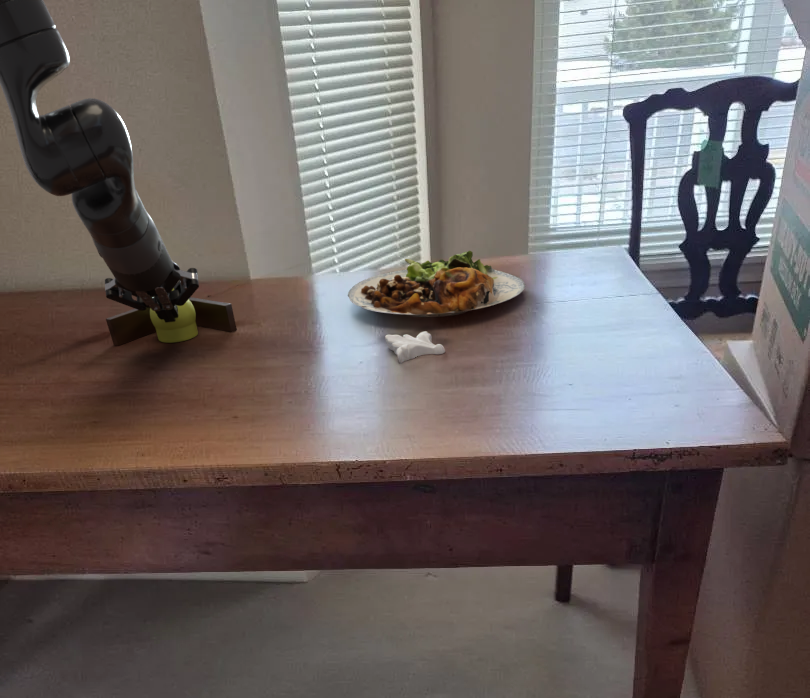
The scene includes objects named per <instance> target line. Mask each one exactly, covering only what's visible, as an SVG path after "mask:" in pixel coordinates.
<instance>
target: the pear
mask: <svg viewBox="0 0 810 698" xmlns="http://www.w3.org/2000/svg"><path fill="white" fill-rule="evenodd" d="M173 290H174V288H173ZM173 290H172V291H173ZM177 307H178V318H176V321H175V322H166V323H165V321H164V319H163V320H161V319H159V318H158V316H157V314H156V313H155V311H153V310H152V309H151V308H150V318H151V321H152V323H153V325H154V326H155V329H156V332H155V333H156V336H157V339H158V341H159V342H161V343H166V344H167V343H170V344H172V343H179V342H184V341H188V340H191V339H194V338H196V337H197V336H198V335H199V331H198V330H199V329H198V326H197V325H196V321H195V320H196V313H195V309H194V307H193V305H192V303H191V302H190V300H189V299H188V300H187V302H186V303H185V304H184V305H183V306H177Z"/></svg>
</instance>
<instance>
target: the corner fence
mask: <svg viewBox="0 0 810 698" xmlns="http://www.w3.org/2000/svg"><path fill="white" fill-rule="evenodd" d="M189 300H190V302H191V303H192V305H193V307H194V309H195V313H196V320H195V321H196V326H197V327H203V328H208V329H214V330H219V331H223V332H228V333H232V332H234V331H237V324H236V319H235V314H234V309H233V305H232V303H229V302H223V301H216V300H210V299H204V298H199V297H198V298H197V297H192V296H191V297H190V298H189ZM105 321H106V325H107V328H108V331H109V332H108V333H109V335H110V338H111V341H112V344H113V346H122V345H124V344H126V343H129V342H132V341H135V340H138V339H140V338H143V337H145V336H149V335H152V334H153V333H157V332H156V329H155V326H154V325H153V323H152V321H151V318H150V308H146V310H144V311H140V310H137V309H135V308H132V309H129V310H126V311H123V312H121V313H118V314H116V315H112V316H109V317H107V318H105Z"/></svg>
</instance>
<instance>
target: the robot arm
mask: <svg viewBox="0 0 810 698" xmlns="http://www.w3.org/2000/svg"><path fill="white" fill-rule="evenodd" d="M70 63H71V62H70V54H69V50H68V49H67V46H66V44H65V42H64V40H63V38H62V36H61V33H60V31H59V29H58V28H57V25H56V23H55V21H54V19H53V17H52V14H51V13H50V11H49V9H48V7H47V4H46V3H45V1H44V0H0V88H1V91H2V93H3V95H4V98H5V101H6V104H7V107H8V110H9V114H10V117H11V120H12V123H13V127H14V131H15V135H16V139H17V143H18V146H19V150H20V153H21V156H22V159H23V162H24V165H25V168H26V170H27V171H28V173H29V175H30V177H31V178H32V180H33V181H34V182H35V184H37V185H38V186H39V187H40V188H41V189H42V190H44V191H45V192H47V193H48V194H50V195H52V196H54V197H55V196H56V197H65V196H70V195H71V202H72V206H73V208H74V210H75V213H76V214H77V216H78V217H79V219H80V221H81V222H82V224H83V225H84V227H85V228H86V230H87V232H88V233H89V235H90V238H91V239H92V242H93V244H94V247H95V248H96V250H97V253H98V254H99V256H100V258H101V259H103V261H104V263H105V264H106V266H107V268H108V269H109V271H110V272H111V274H112V275H113V278H111V277H107V278H105V279H104V291H105V297H106V299H108V300H110V301H113V302H116V303H119V304H122V305H124V306H126V307H128V308H129V307H130V308H131V309H137V310H140V311H144V310H146V308H151V309H152V310H153V311H155V313H156V314H157V316H158V318H159V319H161V320H163V319H164V321H165V323H166V322H175V321H176V318H178V307H177V306H183V305H184V304H185V303H186V302H187V300H188V299H189V298H190V297H192V296H193V295H194V294H195V292H196V291H197V290H198V289H199V287H200V283H199V273H198V269H197V268H196V267H189V268H188V269H187V270H182V269H181V268H180V266H179V264H177V263H176V262H175V261H174V260H172V257H171V255H170V252H169V251H168V249H167V247H166V245H165V242H164V241H163V238H162V236H161V234H160V232H159V230H158V228H157V226H156V224H155V222H154V220H153V219H152V217H151V214H150V213H148V211H147V210H146V207H145V205H144V204H143V202H142V199H141V197H140V195H139V192H138V191H137V190H138V189H136V183H135V174H134V173H135V169H134V166H135V165H134V153H133V148H132V147H133V146H132V142H131V138H130V134H129V132H128V129H127V126H126V124H125V122H124V121H123V118H122V117H121V115H119V113H118V111H117V110H115V109H114V108H113V106H111V105H110V104H108V103H107V102H106V101H104V100H101V99H99V98H94V97H92V98H91V97H89V98H84V99H82V100H78V101H75V102H73V103H70V104H67V105H65V106H62V107H60V108H58V109H54V110H52V111H50V112H48V113H45V114H40V113H39V111H38V107H37V99H38V94H39V93H40V91H41V90H42V89H43V88H44V87H45V86H46V85H47V84H48V83H49V82H51V81H52V80H54V79H55V78H57V77H58V76H60V75H61V74H63V73H64V72H65V71H66V70H67V69H68V67H69V66H70ZM173 288H174V290H173ZM172 290H173V291H172ZM133 297H135V298H136V299H135V298H133Z"/></svg>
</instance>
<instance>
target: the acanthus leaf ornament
mask: <svg viewBox="0 0 810 698" xmlns="http://www.w3.org/2000/svg"><path fill="white" fill-rule="evenodd" d="M384 339H385V341H386V344H387V346H388V349H389V350H390V351H393V352H394V354H395V355H396V356H397V360H398V363H399V364H402V363H404V362H406V361H407V362H408V361H409V360H413V359H416V358H418V357H420V356H424V355H425V356H426V355H442V354H445V353H446V349H445V347H444V345H443V344H441V343H437V344H434V343H433V342H432V339H433V337H432V333H429V332H428V331H426V330H425V331H421V332H419V333H418V334H417V335H416V337H414V336H412V335H410V334H403V335H399V334H386V335H385V336H384ZM417 356H418V357H417ZM415 357H416V358H415Z"/></svg>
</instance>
